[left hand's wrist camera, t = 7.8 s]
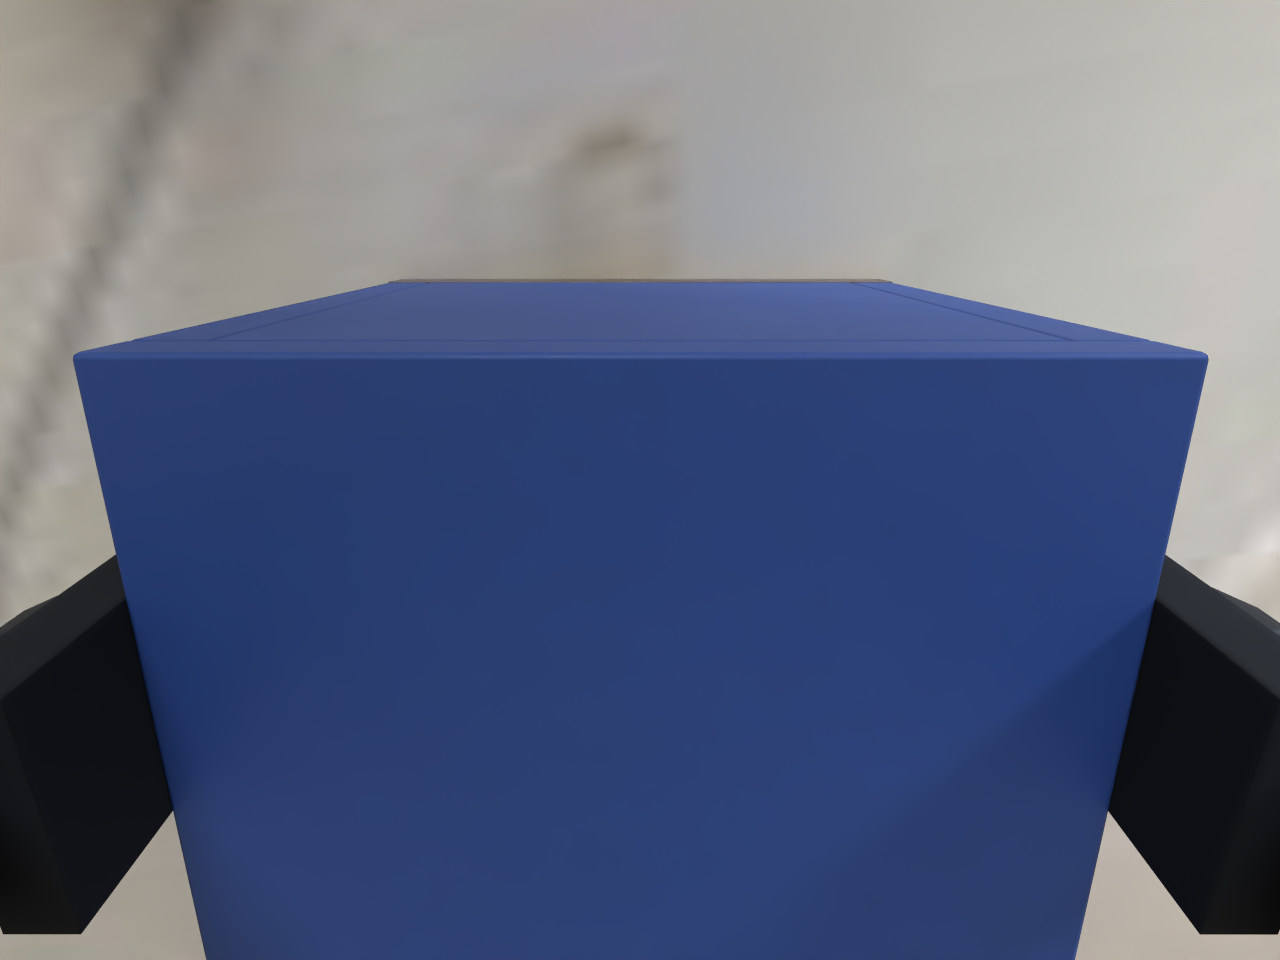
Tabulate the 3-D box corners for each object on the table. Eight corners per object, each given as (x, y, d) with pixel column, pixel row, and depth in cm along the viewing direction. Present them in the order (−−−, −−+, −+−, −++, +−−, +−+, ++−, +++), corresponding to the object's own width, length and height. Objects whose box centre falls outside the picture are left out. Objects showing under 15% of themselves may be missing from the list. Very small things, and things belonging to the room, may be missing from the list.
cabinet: (815, 994, 24) (943, 1559, 14) (465, 994, 24) (337, 1558, 14) (880, 279, 18) (1214, 352, 7) (400, 279, 18) (66, 351, 7)
